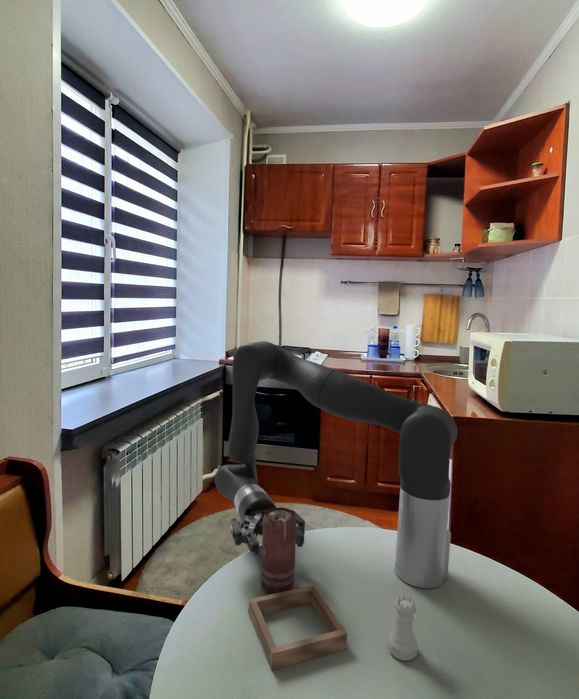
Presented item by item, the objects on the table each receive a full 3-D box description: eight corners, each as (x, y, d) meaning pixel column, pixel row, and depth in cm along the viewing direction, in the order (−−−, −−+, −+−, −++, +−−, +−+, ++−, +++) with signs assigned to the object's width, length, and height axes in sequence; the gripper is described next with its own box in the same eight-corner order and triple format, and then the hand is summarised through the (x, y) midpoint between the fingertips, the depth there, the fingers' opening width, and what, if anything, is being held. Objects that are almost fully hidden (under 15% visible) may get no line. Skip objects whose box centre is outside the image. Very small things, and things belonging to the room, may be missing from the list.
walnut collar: (313, 598, 75) (313, 585, 75) (346, 649, 64) (346, 633, 64) (248, 613, 71) (248, 599, 70) (271, 670, 59) (272, 653, 59)
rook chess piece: (418, 665, 61) (422, 614, 61) (387, 659, 62) (390, 608, 62) (415, 642, 66) (419, 594, 65) (386, 637, 67) (389, 589, 66)
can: (269, 602, 74) (272, 525, 72) (255, 581, 79) (258, 509, 78) (300, 592, 76) (303, 518, 75) (284, 573, 82) (287, 503, 81)
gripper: (223, 494, 89) (242, 532, 74) (285, 487, 94) (316, 520, 79) (222, 528, 90) (241, 572, 75) (284, 519, 95) (314, 558, 80)
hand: (279, 545), depth 77 cm, fingers open, 8 cm apart
